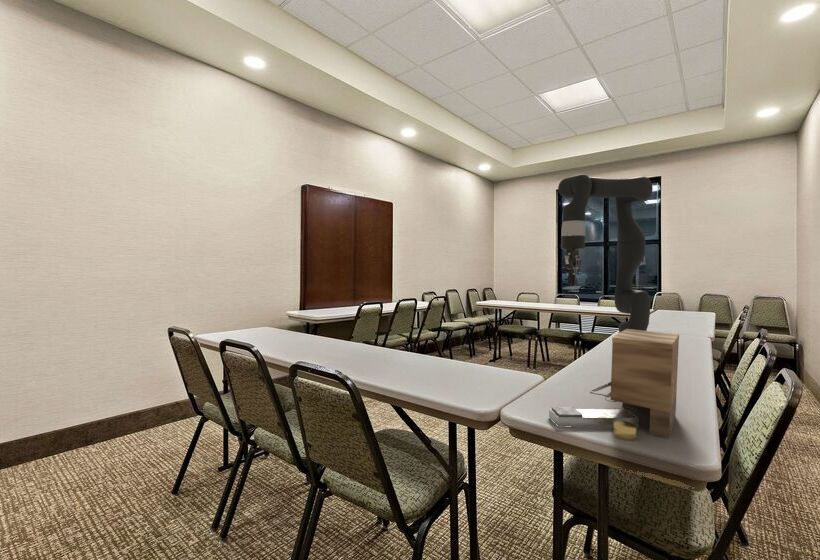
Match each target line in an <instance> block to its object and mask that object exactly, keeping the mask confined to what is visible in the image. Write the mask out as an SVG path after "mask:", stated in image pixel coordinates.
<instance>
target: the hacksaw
mask: <svg viewBox="0 0 820 560" xmlns="http://www.w3.org/2000/svg"><path fill="white" fill-rule="evenodd" d="M609 386H611V381H609V382H607V383H605V384H603V385H600V386H599V387H597V388H594V389H592V390H590V391H589V392H590V393H589V394H592V395H598V396H599V395H600V396H602V397H605V398H604V400H605V401H607V402H612V403H616V402H617V403H618V401H613V400H610V399H609V400H608V399H606V398H611V391H610V392H609V393H607V394H602V393H598V392H597V391H599V390H600V391H601V390H602V389H604V388H607V387H609ZM596 392H597V393H596Z"/></svg>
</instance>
